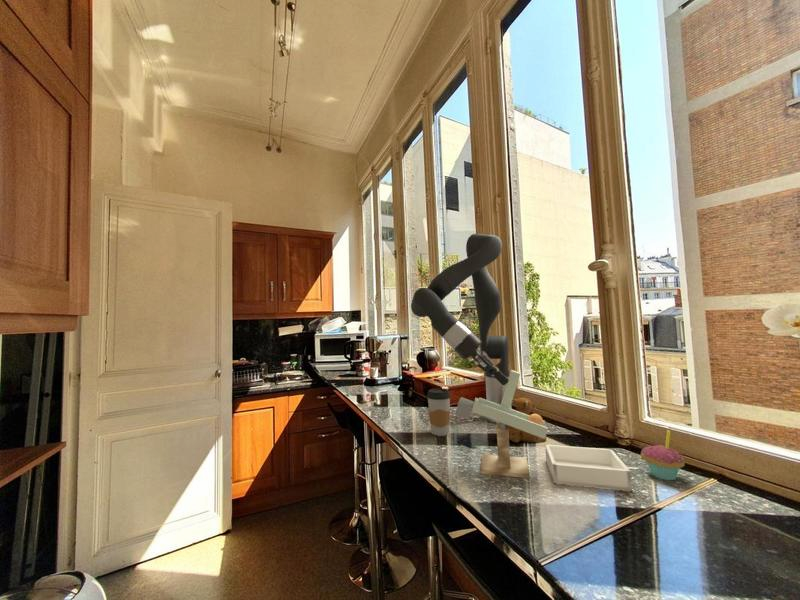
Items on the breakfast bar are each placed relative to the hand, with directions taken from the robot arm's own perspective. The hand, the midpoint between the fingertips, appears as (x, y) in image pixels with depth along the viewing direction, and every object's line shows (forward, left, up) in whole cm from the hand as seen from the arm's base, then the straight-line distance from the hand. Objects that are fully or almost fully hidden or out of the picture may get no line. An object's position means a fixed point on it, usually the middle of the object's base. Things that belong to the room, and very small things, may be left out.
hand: (506, 383), depth 93 cm
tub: (-5, +17, -22) cm, 29 cm away
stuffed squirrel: (-18, -6, -22) cm, 29 cm away
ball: (0, +8, -9) cm, 12 cm away
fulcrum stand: (+4, +1, -22) cm, 22 cm away
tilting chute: (+4, -1, -11) cm, 12 cm away
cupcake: (-18, +32, -22) cm, 42 cm away
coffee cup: (-5, -29, -22) cm, 37 cm away
